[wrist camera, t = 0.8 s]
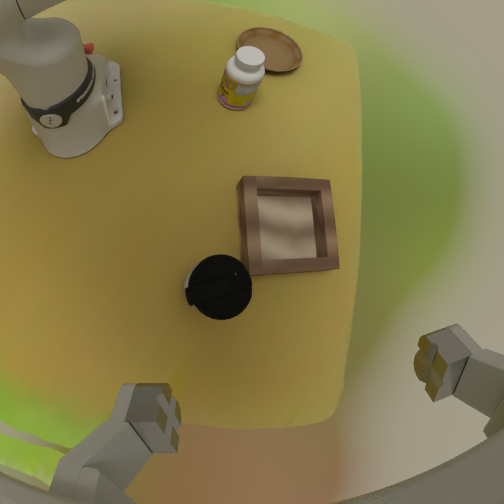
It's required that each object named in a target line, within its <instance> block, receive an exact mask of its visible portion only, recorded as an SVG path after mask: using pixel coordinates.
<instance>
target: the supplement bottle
mask: <svg viewBox="0 0 504 504" xmlns="http://www.w3.org/2000/svg"><path fill="white" fill-rule="evenodd" d="M264 60H265V56H264V54H263V52H262V51H261V50H259V49H258V48H256V47H252V46H244V47H241V48H239V49H238V50H237V52H236V55H235V56H233V57H231V58H230V59H229V60H228V62H227V64H226V67H225V71H224V74H223V77H222V81H221V84H220V87H219V91H218V98H219V100H220V102H221V103H222V104H223V105H224V106H225V107H227V108H229V109H233V110H240V109H244V108H246V107H247V106H249V105H250V103H251V101H252V99H253V97H254V95H255V93H256V91H257V89H258V87H259V85H260V83H261V81H262V79H263V76H264V74H265V68H264V65H263V63H264Z"/></svg>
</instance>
